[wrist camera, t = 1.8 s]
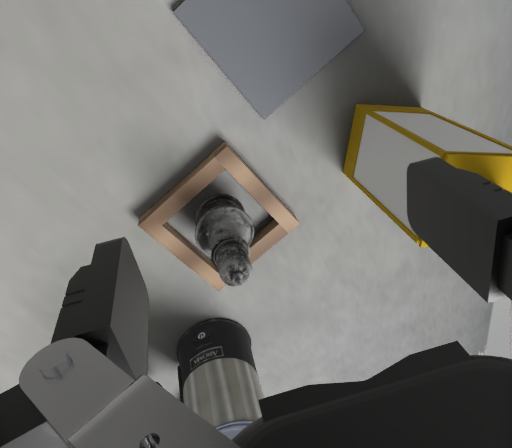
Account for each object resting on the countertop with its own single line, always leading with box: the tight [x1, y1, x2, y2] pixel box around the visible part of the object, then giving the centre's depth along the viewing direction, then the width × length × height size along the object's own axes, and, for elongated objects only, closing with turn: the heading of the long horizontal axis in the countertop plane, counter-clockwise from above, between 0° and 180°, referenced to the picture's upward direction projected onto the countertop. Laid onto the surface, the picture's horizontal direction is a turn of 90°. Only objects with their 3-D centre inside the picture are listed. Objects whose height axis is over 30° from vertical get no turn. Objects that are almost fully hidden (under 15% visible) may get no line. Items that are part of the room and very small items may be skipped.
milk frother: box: [156, 319, 264, 440], centre depth 49 cm, size 14×16×15 cm
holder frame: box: [138, 141, 300, 291], centre depth 45 cm, size 12×12×2 cm
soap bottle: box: [343, 104, 512, 247], centre depth 36 cm, size 7×13×24 cm, turn 85°
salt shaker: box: [195, 195, 254, 286], centre depth 40 cm, size 6×6×12 cm
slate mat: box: [173, 0, 365, 120], centre depth 37 cm, size 12×12×1 cm
